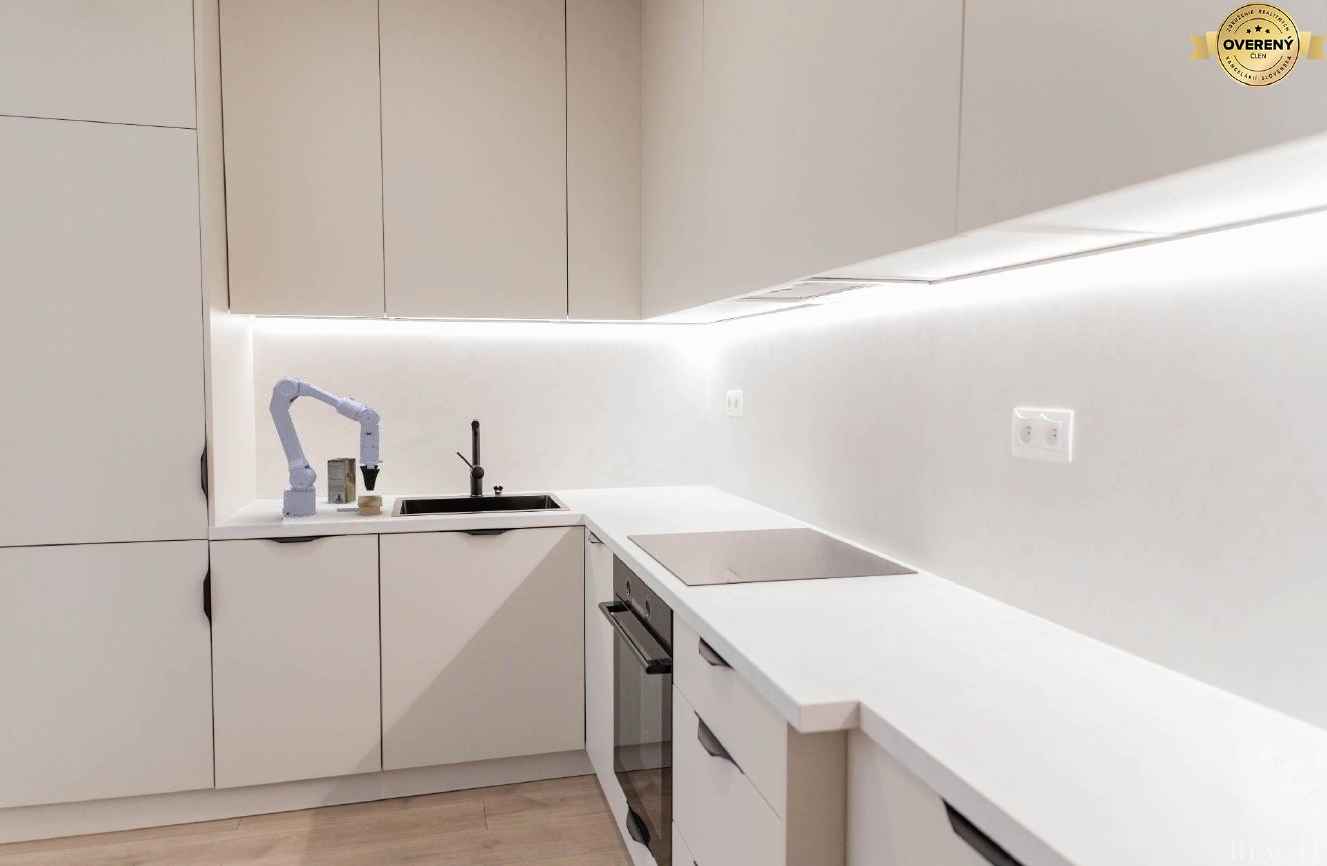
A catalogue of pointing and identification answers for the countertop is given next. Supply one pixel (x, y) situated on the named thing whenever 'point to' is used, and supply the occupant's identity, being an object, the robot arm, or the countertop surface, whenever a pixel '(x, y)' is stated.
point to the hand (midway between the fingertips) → (369, 489)
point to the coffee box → (341, 480)
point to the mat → (347, 509)
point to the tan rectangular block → (370, 501)
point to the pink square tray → (369, 511)
